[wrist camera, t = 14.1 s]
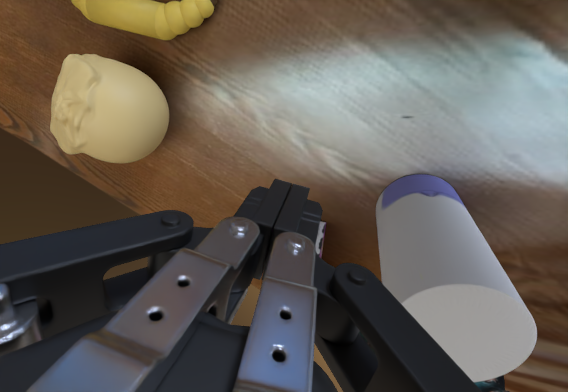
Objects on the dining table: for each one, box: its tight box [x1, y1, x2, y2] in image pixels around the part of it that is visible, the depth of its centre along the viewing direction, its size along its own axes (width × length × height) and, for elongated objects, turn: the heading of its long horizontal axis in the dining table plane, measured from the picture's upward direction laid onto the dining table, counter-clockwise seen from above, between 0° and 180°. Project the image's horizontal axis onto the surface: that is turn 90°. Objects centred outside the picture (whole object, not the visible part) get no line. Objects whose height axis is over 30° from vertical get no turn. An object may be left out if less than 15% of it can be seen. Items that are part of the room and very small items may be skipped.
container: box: [376, 174, 537, 382], centre depth 33 cm, size 10×10×20 cm
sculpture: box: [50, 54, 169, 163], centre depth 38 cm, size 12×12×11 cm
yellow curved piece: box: [71, 0, 217, 40], centre depth 36 cm, size 19×6×4 cm, turn 78°
